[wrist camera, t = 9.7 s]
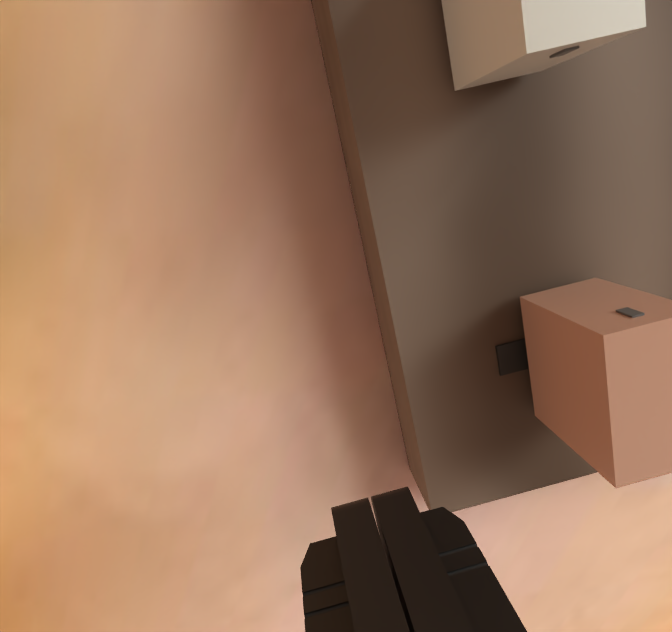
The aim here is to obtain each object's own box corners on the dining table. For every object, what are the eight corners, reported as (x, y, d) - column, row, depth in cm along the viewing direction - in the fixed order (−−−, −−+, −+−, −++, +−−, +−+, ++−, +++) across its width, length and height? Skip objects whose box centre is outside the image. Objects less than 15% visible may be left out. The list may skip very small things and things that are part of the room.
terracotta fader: (595, 275, 15) (704, 307, 11) (606, 398, 16) (708, 464, 12) (519, 295, 15) (603, 333, 11) (535, 417, 16) (616, 490, 12)
